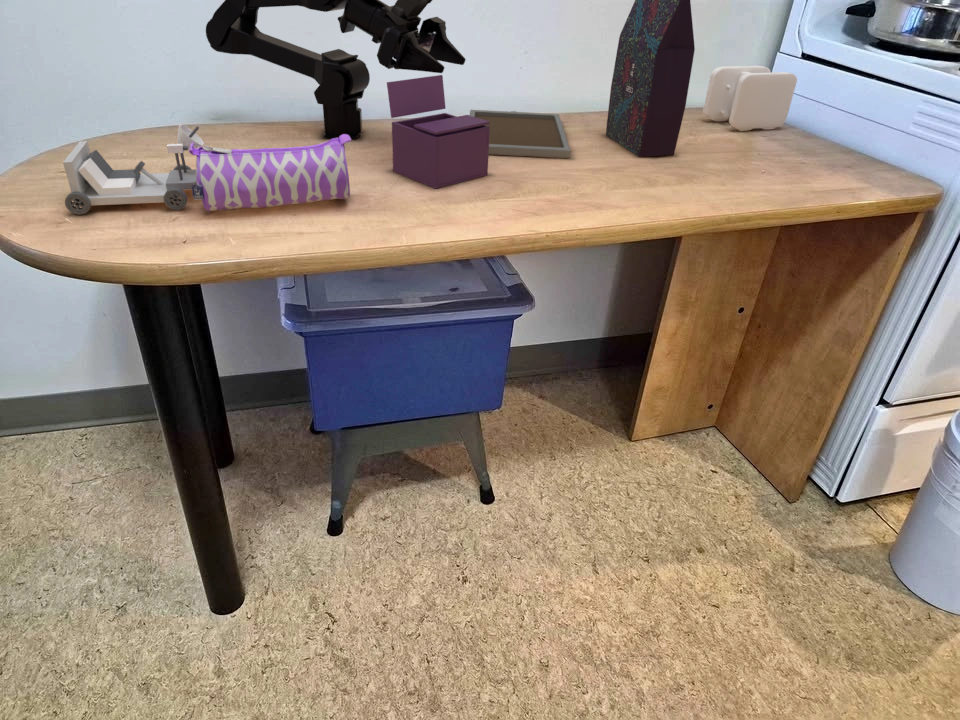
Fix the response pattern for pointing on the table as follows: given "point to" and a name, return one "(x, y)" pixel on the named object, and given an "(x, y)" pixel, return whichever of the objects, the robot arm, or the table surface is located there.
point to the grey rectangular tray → (525, 133)
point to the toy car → (128, 178)
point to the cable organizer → (749, 96)
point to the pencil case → (270, 175)
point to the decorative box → (651, 77)
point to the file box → (441, 149)
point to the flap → (416, 96)
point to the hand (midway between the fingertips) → (454, 66)
